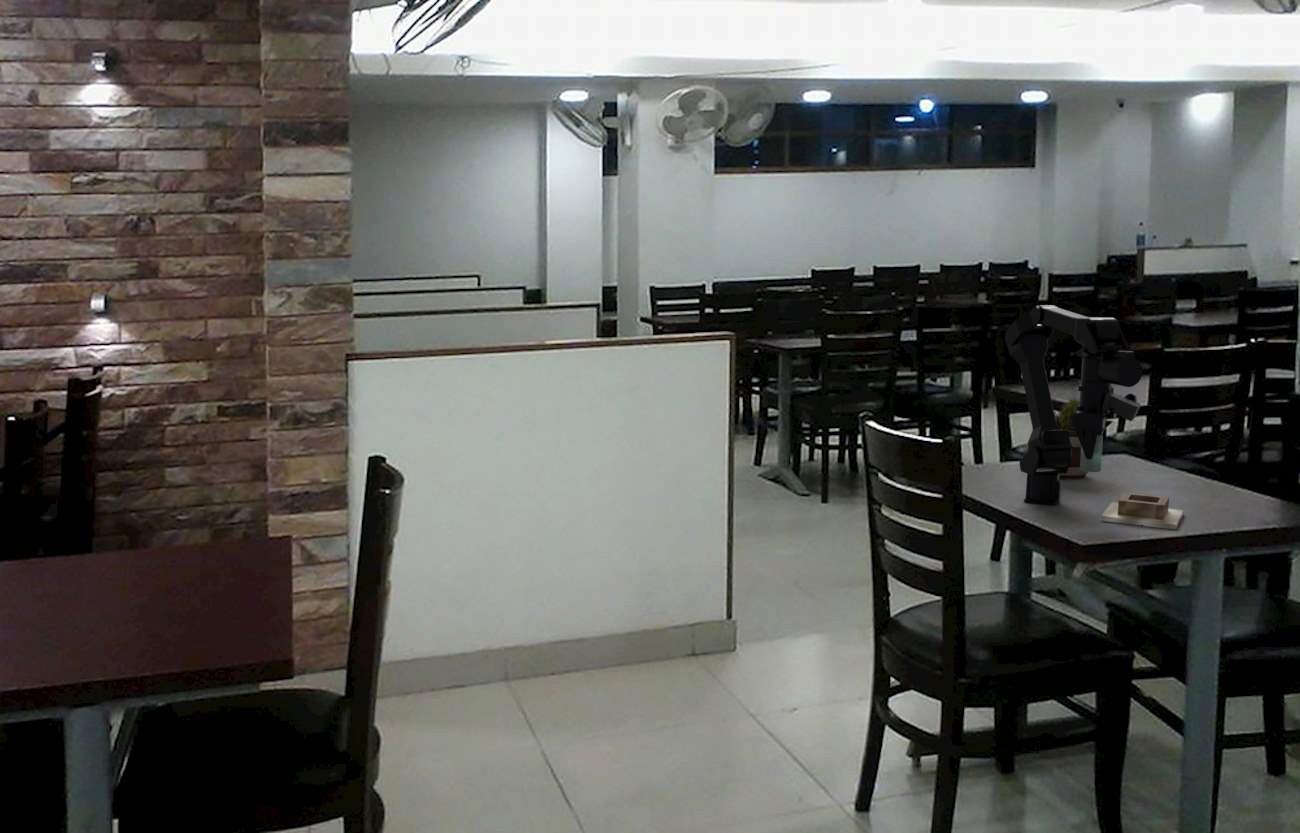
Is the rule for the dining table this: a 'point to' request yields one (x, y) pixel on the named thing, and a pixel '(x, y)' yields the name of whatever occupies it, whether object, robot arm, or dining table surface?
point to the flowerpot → (1071, 440)
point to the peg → (1095, 462)
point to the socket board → (1143, 511)
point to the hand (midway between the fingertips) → (1090, 457)
